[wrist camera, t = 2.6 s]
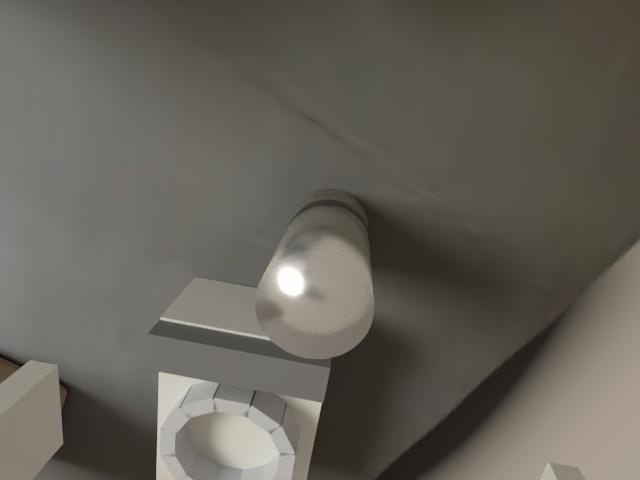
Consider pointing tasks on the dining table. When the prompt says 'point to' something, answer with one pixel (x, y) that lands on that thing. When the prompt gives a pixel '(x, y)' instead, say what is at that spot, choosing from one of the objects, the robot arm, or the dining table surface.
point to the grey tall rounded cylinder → (319, 279)
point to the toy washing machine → (230, 391)
